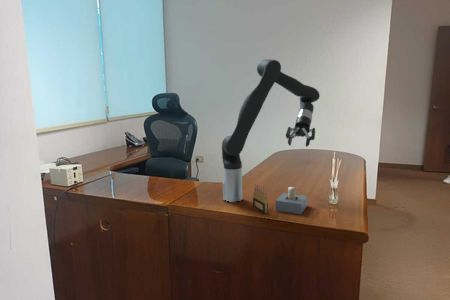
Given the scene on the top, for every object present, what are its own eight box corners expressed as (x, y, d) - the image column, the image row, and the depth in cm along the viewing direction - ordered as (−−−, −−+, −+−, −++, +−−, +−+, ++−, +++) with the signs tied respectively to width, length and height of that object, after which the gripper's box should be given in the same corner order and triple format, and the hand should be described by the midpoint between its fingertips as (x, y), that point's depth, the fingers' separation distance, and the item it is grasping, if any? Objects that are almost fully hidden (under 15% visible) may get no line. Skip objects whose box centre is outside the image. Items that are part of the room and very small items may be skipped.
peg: (287, 208, 163) (287, 188, 161) (289, 206, 166) (289, 186, 164) (294, 209, 161) (294, 189, 160) (296, 207, 165) (296, 187, 163)
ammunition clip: (268, 213, 158) (267, 188, 156) (264, 214, 157) (264, 189, 155) (256, 206, 167) (255, 182, 165) (252, 207, 167) (252, 183, 164)
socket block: (275, 210, 161) (275, 200, 160) (283, 202, 172) (283, 193, 171) (301, 214, 156) (301, 203, 155) (307, 205, 166) (307, 195, 165)
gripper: (289, 115, 179) (282, 139, 171) (317, 115, 173) (311, 141, 165) (291, 124, 184) (285, 148, 176) (318, 125, 178) (313, 150, 170)
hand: (297, 145), depth 170 cm, fingers open, 8 cm apart
